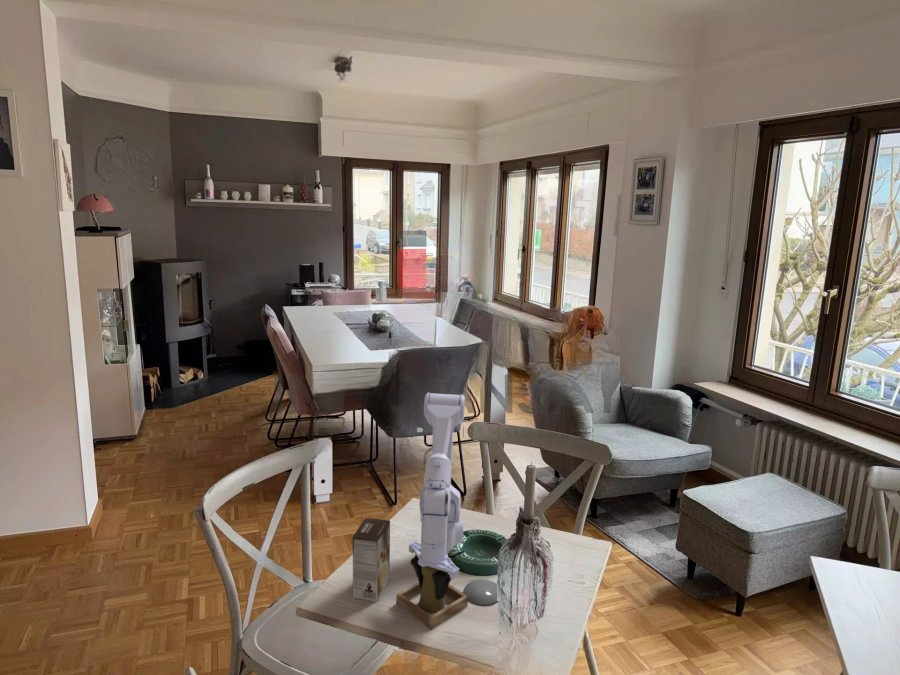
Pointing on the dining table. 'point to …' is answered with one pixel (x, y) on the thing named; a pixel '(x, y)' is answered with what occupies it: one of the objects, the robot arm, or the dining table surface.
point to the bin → (438, 617)
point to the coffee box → (371, 559)
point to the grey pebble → (481, 592)
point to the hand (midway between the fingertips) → (432, 591)
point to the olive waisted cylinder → (430, 592)
